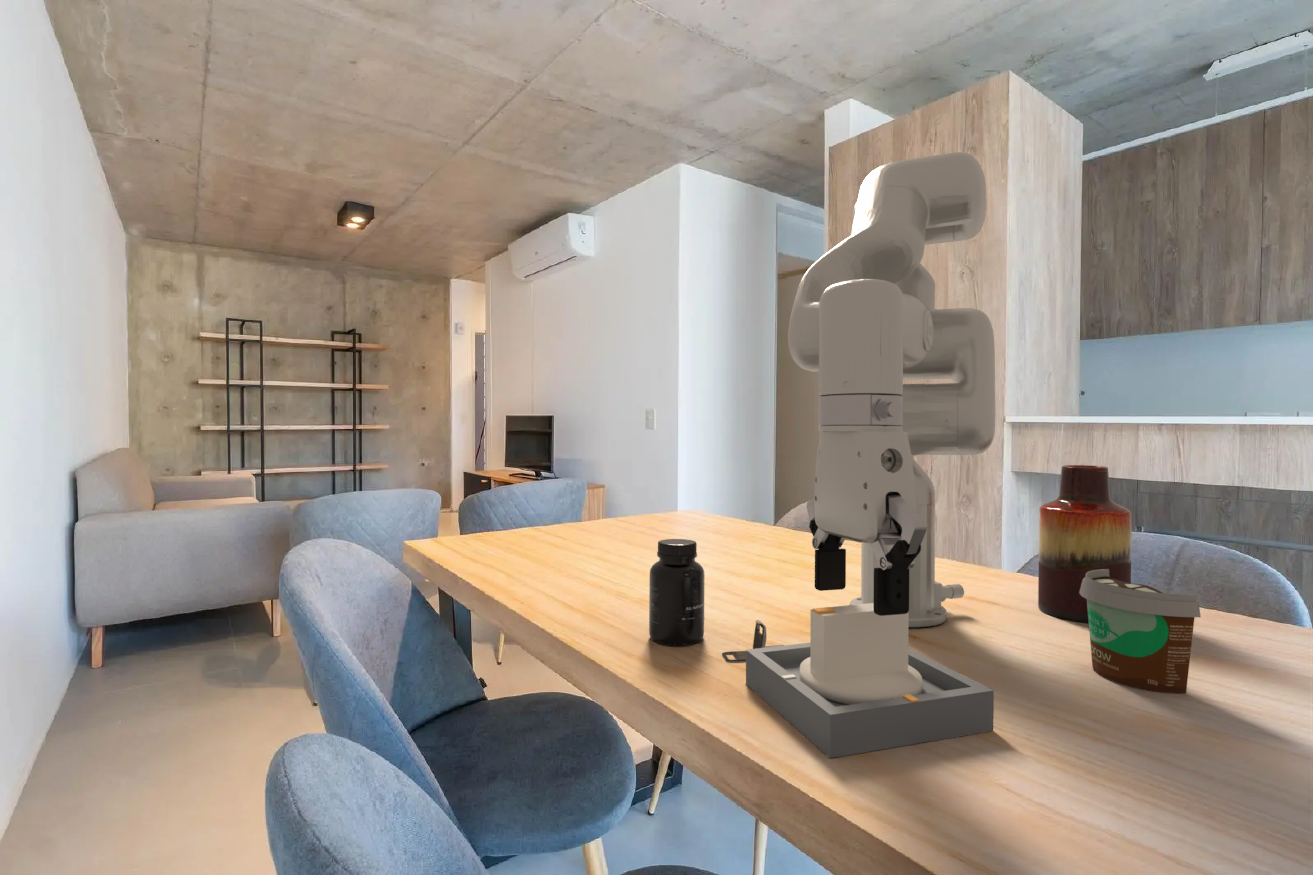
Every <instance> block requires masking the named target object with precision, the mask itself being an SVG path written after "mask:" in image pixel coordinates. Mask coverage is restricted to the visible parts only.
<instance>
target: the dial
mask: <svg viewBox="0 0 1313 875" xmlns="http://www.w3.org/2000/svg"><path fill="white" fill-rule="evenodd" d="M908 618H909V611H908V613H906V614H898V615H885V616H879V615H877V614H875V613H874V603H868V604H857V605H850V604H849V605H839V606H828V607H827V606H826V607H825V606H824V607H817V608H814V607H813V608H811V609H810V624H809V625H810V632H809V633H810V636H809V637H810V642H809V643H810V657H809V658H807V659H805V660H804V661H803V662H802V663H801V664H800V681H801V682H803V683H804V684H805V685H807V686H808V687H809V688H811V689H812V690H813V691H815V692H816V693H817V694H819V695H820V696H821V697H824V698H826V699H829V700H833V701H836V702H840V703H845V704H858V703H865V702H872V701H879V700H885V699H892V698H899V697H903V695H907V694H910V695H912V696H913V695H920V694H921V693H922V676H921V675H920V673H919V672H918V671H917V670H916V669H914V668H913V667H911V666H910V665H908V648H909V627H908Z"/></svg>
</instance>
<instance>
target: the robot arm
mask: <svg viewBox="0 0 1313 875" xmlns="http://www.w3.org/2000/svg"><path fill="white" fill-rule="evenodd" d="M986 215H987V185H986V178H985V173H984V171H983V168H982V165H981V164H980V162H979V161H978V159H977V158H976V157H974V156H973V155H971V154H969V153H967V152H963V151H962V152H961V151H959V152H958V151H957V152H947V153H942V154H935V155H929V156H924V157H923V156H922V157H916V158H911V159H904V160H897V161H893V162H889V163H885V164H883V165H880V166H879V167H876V168H875V169H873V170H872V171H871V172H870V173H869V174H868V175H867V176H866V177H865V178H864V180H863V182H862V184H861V185H860V188H859V191H858V196H857V201H856V203H855V204H854V207H853V210H852V226H851V230H850V236H848V237H847V238H845V239H844V240H842V241H841V242H839V243H838V244H836V245H834V247H833V248H831V249H830V250H829V251H828V252H825V254H823V255H822V256H821V257H820V258H819V259H818V260H816V261H815V262H813V264H812V265H811V266H810V267H809V268H808V269H807V271H806V272H805V273H804V275H803V276H802V278H801V280H800V282H799V284H798V287H797V290H796V292H795V298H794V302H793V303H792V304H793V305H792V308H791V309H792V310H791V314H790V318H789V322H788V323H789V325H788V331H787V341H788V342H787V343H788V350H789V353H790V356H791V358H792V360H793V361H794V363H795V365H797V366H798V367H800V369H803V370H805V371H809V372H814V373H818V428H817V429H818V431H817V432H819V440H818V447H817V453H816V460H815V461H816V463H815V476H814V492H813V493H814V496H813V497H812V498H810V499H809V500H808V501H807V503H806V510H807V514H808V518H809V521H810V522H809V526H808V527H809V531H810V532H811V534H812V539H811V544H812V547H813V549H814V589H815V590H817V591H820V592H821V591H836V590H838V591H839V590H845V588H846V582H847V581H846V580H847V578H846V577H847V575H846V574H847V573H846V571H847V569H846V568H847V567H846V566H847V560H846V559H847V556H846V555H847V550H846V548H843V547H842V546H843V545H844V542H845V541H846V540H847V539H848V540H851V541H855V542H859V543H861V546H860V548H861V550H860V551H861V553H860V554H861V559H860V560H861V562H860V564H861V565H860V566H861V567H860V568H861V569H860V570H861V572H860V573H861V574H860V576H861V577H860V578H861V581H860V582H861V583H860V584H861V586H860V587H861V589H860V590H861V591H860V596H858V597H855V598H853V599H852V600H851V601H850V602H849V605H857V604H868V603H874V613H875V614H877V615H879V616H885V615H898V614H906V613H908V611H909V618H908V628H926V627H934V626H937V625H941V624H943V623H945V622H946V620H947V619H948V611H947V609H946V608H945V606H943V605H942V603H943V602H945V601H946V600H947V599H950V600H953V599H954V600H955V599H961V598H963V597H964V595H965V590H964V586H962V584H960V583H954V584H947V585H943V584H942V583H941V582H938V581H935V579H936V578H935V577H936V575H935V574H936V570H935V569H936V567H935V566H936V565H935V564H936V490H935V486H934V483H933V481H932V480H931V478H930V476H929V475H928V474H927V472H926V471H925V470H924V469H923V468H922V467H921V466H920V465H919V464H918V463H917V461H916V460H915V458H914V457H916V456H925V455H926V456H973V455H974V456H975V455H980V454H982V453H985V452H986V451H987V450H989V449H990V448H991V446H992V444H993V441H994V436H995V432H996V353H995V351H996V350H995V334H994V329H993V324H992V322H991V320H990V317H989V316H988V314H986V313H985V312H984V311H982V310H981V309H978V308H971V307H970V308H969V307H957V308H941V309H936V308H935V306H936V305H935V304H936V282H935V279H934V277H933V276H932V274H931V273H930V272H929V271H928V270H927V268H926V267H925V266H924V265H923V264H922V263H921V262H922V259H923V257H924V254H925V246H926V245H934V244H943V243H953V242H954V243H955V242H962V241H966V240H967V241H968V240H971V239H973V238H975V237H976V236H978V234H979V233H980V232H981V230H982V228H983V226H984V223H985V220H986ZM942 379H943V380H945V379H947V380H948V379H950V380H953V381H954V382H950V383H947V382H946V383H904V381H906V380H908V381H910V380H911V381H912V380H914V381H915V380H917V381H918V380H942Z"/></svg>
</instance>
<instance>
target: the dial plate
mask: <svg viewBox="0 0 1313 875" xmlns="http://www.w3.org/2000/svg"><path fill="white" fill-rule="evenodd" d="M783 645H784V646H775V647H766V648H757V649H753V648H751V649H750V648H749V649H746V650H745V651H746V662H745V684H746V685H747V686H748V688H750V689H751V690H752V691H753V692H754V693H756V694H757V696H759V697H760V698H761V699H762V700H764V701H765V702H766V703H767V704H768V705H769V706H770V707H771V708H773V710H775V711H776V712H777V713H778V714H779V715H781V716H782V718H784V719H785V720H786V721H787V722H788V723H790V724H791V725H792V726H793V727H794V728H795V729H796V730H798V732H799V733H801V734H802V735H803V736H804V737H806V738H807V739H808V740H809V741H810V742H811V743H812V744H813V745H815V747H817V748H818V749H819V750H820V751H821V752H822V753H823V754H824V755H826V756H827V757H828V758H829V759H835V758H840V757H846V756H852V755H853V756H854V755H857V754H864V753H871V752H876V751H882V750H888V749H894V748H899V747H905V746H911V745H916V744H924V743H928V742H929V743H930V742H934V741H941V740H945V739H951V738H958V737H963V736H969V735H975V734H981V733H987V732H991V731H994V709H995V708H994V707H995V706H994V704H995V703H994V700H995V698H994V697H995V693H994V691H995V690H994V689H991V688H989V687H988V686H986V685H983V684H982V683H980V682H978V681H975V680H973V679H971V678H969V677H968V676H966V675H963V674H961V673H960V672H957V671H955V670H953V669H951V668H949V667H947V666H945V665H943V664H941V663H939V662H937V661H935V660H933V659H931V658H929V657H927V656H925V655H923V654H921V653H919V652H917V651H916V650H913V649H911V648H909V647H908V665H910V666H911V667H913V668H914V669H916V670H917V671H918V672H919V673H920V675H921V676H922V693H921V694H920V695H913V696H912V695H910V694H907V695H903V697H899V698H892V699H885V700H879V701H872V702H865V703H858V704H845V703H840V702H836V701H833V700H829V699H826V698H824V697H821V696H820V695H819V694H817V693H816V692H815V691H813V690H812V689H811V688H809V687H808V686H807V685H805V684H804V683H803V682H801V681H800V664H801V663H802V662H803V661H804V660H805V659H807V658H809V657H810V642H805V643H804V642H802V643H796V644H795V643H794V644H793V643H792V644H786V645H785V644H783Z"/></svg>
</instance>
